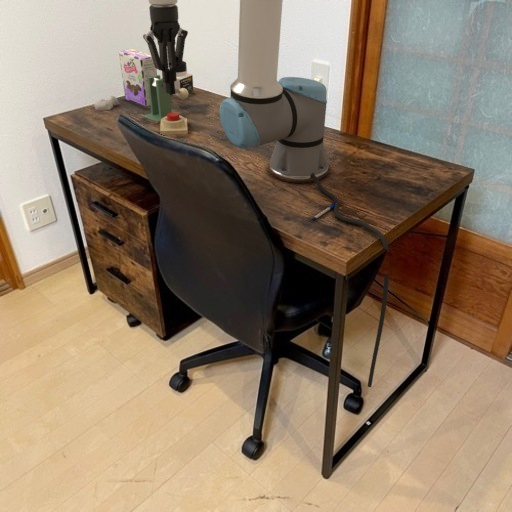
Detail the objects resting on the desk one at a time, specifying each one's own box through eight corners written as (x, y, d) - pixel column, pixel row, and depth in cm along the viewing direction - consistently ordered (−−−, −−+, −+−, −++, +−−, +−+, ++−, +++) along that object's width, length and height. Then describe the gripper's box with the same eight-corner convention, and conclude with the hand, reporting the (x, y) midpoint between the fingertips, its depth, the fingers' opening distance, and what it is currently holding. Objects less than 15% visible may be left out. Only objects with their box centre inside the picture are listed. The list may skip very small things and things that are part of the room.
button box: (188, 137, 156) (187, 124, 154) (160, 138, 156) (159, 125, 153) (187, 125, 165) (186, 112, 162) (161, 126, 164) (160, 113, 162)
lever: (181, 99, 176) (184, 88, 175) (188, 101, 174) (192, 91, 173) (149, 86, 164) (153, 75, 163) (157, 89, 162) (160, 77, 161)
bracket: (166, 111, 175) (162, 72, 168) (181, 116, 171) (178, 76, 164) (142, 119, 169) (137, 78, 162) (157, 124, 165) (152, 83, 158)
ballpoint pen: (336, 202, 123) (337, 198, 122) (340, 203, 123) (340, 200, 122) (311, 220, 116) (311, 216, 116) (315, 221, 116) (315, 217, 115)
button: (179, 121, 157) (179, 116, 156) (167, 122, 156) (166, 116, 155) (179, 117, 160) (179, 112, 159) (167, 118, 159) (166, 112, 158)
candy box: (124, 99, 185) (117, 50, 176) (139, 96, 189) (133, 48, 179) (146, 109, 177) (140, 58, 168) (160, 105, 180) (155, 55, 171)
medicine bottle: (181, 99, 186) (178, 64, 179) (165, 96, 189) (162, 61, 182) (194, 94, 191) (191, 59, 184) (178, 91, 194) (176, 57, 187)
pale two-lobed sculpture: (100, 118, 173) (92, 109, 175) (121, 112, 178) (113, 104, 180) (100, 106, 170) (91, 98, 172) (121, 100, 174) (113, 92, 176)
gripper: (177, 0, 146) (183, 86, 159) (134, 5, 140) (144, 94, 153) (191, 4, 141) (196, 92, 155) (147, 9, 135) (157, 100, 148)
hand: (170, 93), depth 154 cm, fingers closed
